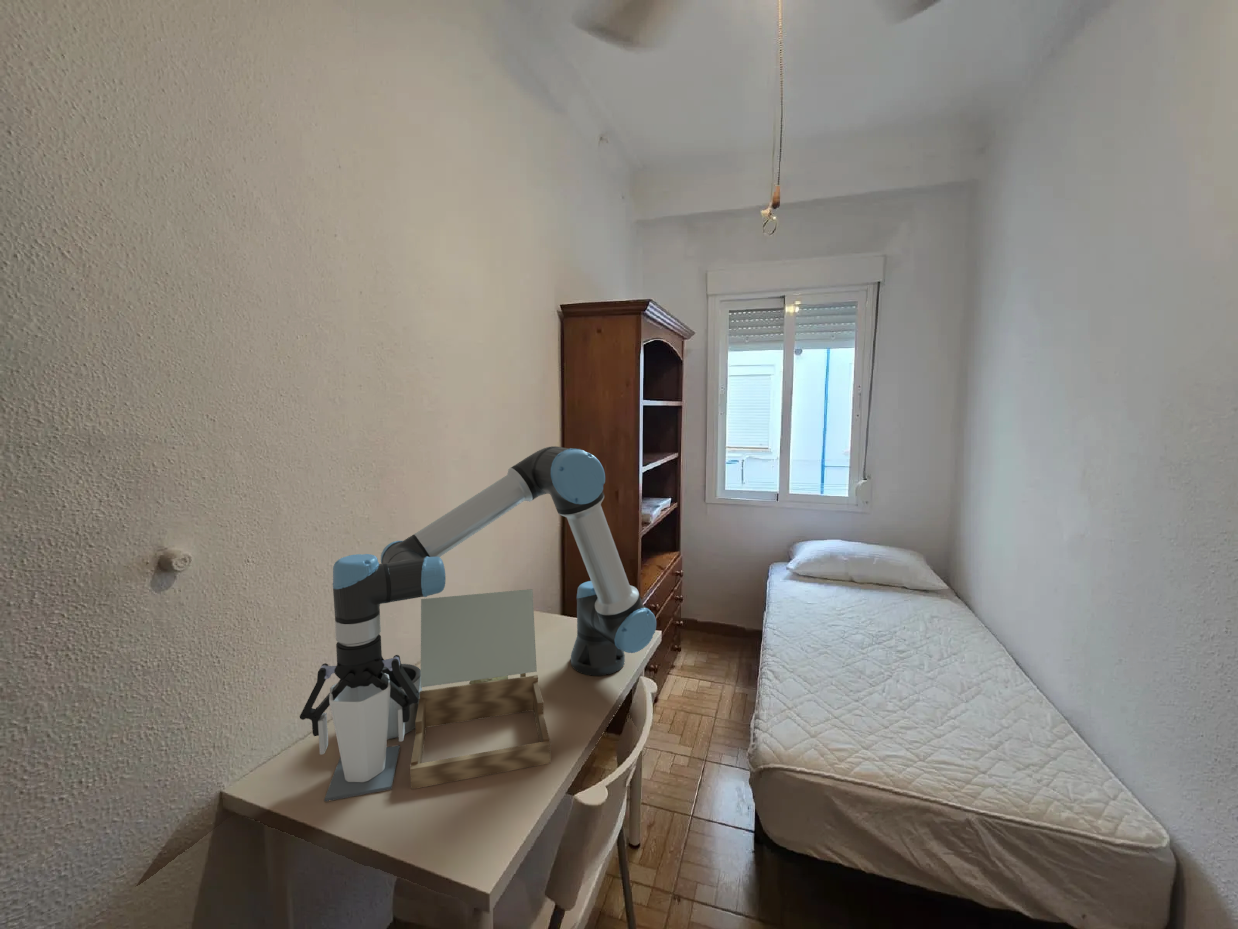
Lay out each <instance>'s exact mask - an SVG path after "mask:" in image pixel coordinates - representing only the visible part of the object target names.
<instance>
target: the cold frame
mask: <svg viewBox="0 0 1238 929" xmlns="http://www.w3.org/2000/svg"><path fill="white" fill-rule="evenodd" d="M519 675H520V676H519V677H511V678H508V679H504V680H497V681H490V682H483V683H475V684H469V683H468V684H461V685H455V686H448V687H440V688H434V689H426V690H425V689H424V690H422V691H420V693H419V698H420V699H419V704H418V710H417V715H416V721H415V736H414V742H413V747H412V748H413V749H412V754H411V755H412V756H411V758H410V769H409V770H410V789H411V790H414V789H415V790H416V789H419V788H420V789H421V788H425V787H432V786H436V785H441V784H447V783H451V782H452V783H453V782H457V781H458V782H459V781H463V780H468V779H474V778H478V777H485V776H490V775H495V774H500V773H505V772H511V771H515V770H522V769H526V768H531V767H537V766H542V765H547V764H551V741H550V736H549V731H548V726H547V723H546V718H545V714H544V700H543V696H542V692H541V688H540V684H539V675H538V674H534V675H528V676H527V673H523V674H519ZM526 712H533V716H534V721H535V725H536V731H537V734H538V738H539V742H535V743H528V744H524V745H523V744H522V745H517V746H511V747H506V748H500V749H495V750H493V749H492V750H488V751H483V752H477V753H472V754H465V755H461V756H460V755H459V756H456V757H449V758H444V759H438V760H433V761H432V760H431V761H426V762H423V754H424V747H425V740H426V732H427V728H431V727H438V726H444V725H451V724H457V723H461V722H463V723H464V722H468V721H475V720H481V719H486V718H487V719H488V718H494V717H501V716H506V715H507V716H508V715H512V714H519V713H526Z"/></svg>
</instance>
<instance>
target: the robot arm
mask: <svg viewBox="0 0 1238 929" xmlns="http://www.w3.org/2000/svg"><path fill="white" fill-rule="evenodd" d="M605 483H606V473H605V469H604V467H603V465H602V463H601V462H600V460H599V459H598V458H597V457H596V456H595V455H593V454H592V453H590V452H587V451H585V450H583V449H581V448H567V447H561V446H556V445H555V446H547V447H544V448H541V449H538V450H536V451H535V452H534V453H532V454H530V455H529V456H527V457H525V458H524V459H522V460H521V461H519V462H517V463H516V464H514V465H513V466H511V467H509V468H508V470H507V474H506V475H504V476H503V477H502V478H500V479H498V480H497V481H495V482H494V483H492V484H491V485H490V486H488V487H486V488H485V489H483V490H482V491H480V492H478V493H476V494H475V495H473V496H471V497H470V498H468V499H467V500H465V501H463V503H461V504H459V505H458V506H456V507H455V508H453V509H451V510H450V511H448V512H447V513H445V514H443V515H442V516H440V517H439V518H437V519H435V520H434V521H433V522H431V523H429V524H428V525H427V526H424V527H423V528H422V529H420V530H418V531H417V532H415V533H414V534H412V535H410V536H409V537H407V538H405V539H404V540H395V541H392V542H390V543H388V544H387V545H386V546H384V548H383V549H382V551H381V555H380V562H379V560H378V558H377V556H376V555H374V554H369V553H363V554H361V553H358V554H351V555H347V556H343V557H340V558H338V559H337V560H336V561H335V562H334V564H333V567H332V592H333V593H332V596H333V607H334V608H333V609H334V610H333V611H334V623H335V624H334V625H335V626H334V627H335V629H334V630H335V641H336V644H335V648H336V650H335V651H336V665H329V664H328V663H327V662H326V663H323V664H321V666H320V668H318V669H319V670H318V671H317V678H316V683H315V685H314V686H313V689H312V691H311V693H310V694H309V697H308V699H307V701H306V703H305V705H304V707H303V709H302V711H301V713H300V714H299V719H300V720H303V721H304V720H306V719H307V720H310V721H311V727H312V736H313V737H318V746H319V755H325V753H326V751H327V748H328V747H329V746H328V745H329V737H328V736H329V735H328V732H329V731H328V717H327V715H328V714H327V712H326V711H327V709H328V708H329V707H330V703H329V696H330V692H329V693H328V694H327V695H326V696H325V698H324V699H323V700H322V701H321V702H320V703H319V704H318V705H317V707H315V708H313V706H314V704H315V702H316V700H317V698H318V696H319V694H320V693H321V690H322V688H323V686H324V684H325V683H326V680H329V679H330V678H331V676H332V675H333V674H335V676H336V677H337V678H338V679H339V680H338V682H337V684H336V683H335V684H336V686H335V687H334V688H333V690H332V693H331V694H332V695H333V700H335V698H336V697H337V696H338V695H339V694H340V693H341V692H342V691H343V689H344V688H345V687H346V686H348V687H351V688H356V687H359V686H364V687H365V686H369V685H370V684H373V685H375V686H376V687H377V688H380V689H381V690H382V691H383V690H385V689H386V688H387V687H388V681H389V680H390V679H388V678H387V677H386V675H385V674H384V673H383V672H382V670H383V668H384V667H387V668H388V669H389V670H390V671H393V674H394V676H395V677H396V679H397V680H398V682H399V684H400V685H401V687H402V688H403V690H404V691H405V692H403V691H402V690H401V689H400V688H399V687H398V686H396V685H395V684H394V683H393V682H392V681H391V680H390V697H391V698H392V699H393V700H394V701H395V702H397V703H398V704H399V707H398V732H399V737H398V742H403V741H404V738H405V735H406V734H405V725H404V722H408V721H409V718H410V705H411V704H413V703H414V704H415V703H417V702H418V698H419V692H418V690H417V689H416V687H415V685H414V684H413V682H412V681H411V679H410V678H409V676H408V675H407V673H406V672H405V670H404V669H403V667H402V665H401V664H402V662H401V657H400V655H399V654H395V655H394V656H393V657H392V658H388V659H384V658H383V655H382V654H383V653H382V636H381V631H382V630H381V626H382V625H381V610H380V606H381V605H382V604H389V603H395V602H401V601H406V600H411V599H417V598H423V597H424V598H427V597H428V596H433V595H436V594H440V593H442V592H443V591H444V589H445V587H446V577H447V576H446V569H445V568H446V567H445V564H444V561H443V559H442V556H444V555H445V554H447V553H449V551H451V550H452V549H454V548H456V547H457V546H459V545H461V544H462V543H463V542H465V541H467V540H468V539H469V538H471V537H472V536H474V535H475V534H476V533H478V532H480V531H481V530H483V529H484V528H485V527H487V526H488V525H490V524H491V523H494V522H495V521H496V520H498V519H499V518H501V517H502V516H504V515H505V514H506V513H508V512H510V511H511V510H513V509H515V508H516V507H517V506H518V505H520V504H521V503H523V502H530V503H531V502H532V501H534V500H535V499H537V498H538V497H541V496H544V495H550V497H551V499H552V502H553V504H554V507H555V509H556V511H557V514H558V515H560V516H562V517H565V518H566V520H567V522H568V525H569V527H570V531H571V532H572V535H573V538H574V540H575V542H576V545H577V548H578V550H579V553H580V556H581V558H582V561H583V564H584V566H585V568H586V571H587V574H588V576H589V578H590V580H588V581H585V582H583V583H580V584H579V586H578V587H577V593H576V628H577V629H576V633H577V634H576V638H575V642H574V644H573V647H572V650H571V653H570V665H571V667H572V668H573V669H574V670H575V671H576V672H579V673H580V674H583V675H587V676H588V675H589V676H594V677H595V676H597V675H599V676H605V675H606V674H608V675H611V674H614V673H616V671H617V672H618V671H620V670H621V669H622V668H623V667H624V666H625V663H624V662H625V660H626V658H625V657H626V654H625V653H628V654H635V653H637V652H641V651H642V650H643V649H644V648H645V647H647V646H648V645H649V644H650V643H651V641H652V640H653V637H654V635H655V633H656V630H657V619H656V616H655V614H654V613H653V612H652V610H650V609H649V608H648V607H646V606H645V605H644V604H643V600H642V599H641V595H640V593H639V590H638V589H637V587H636V586H633V585H630V583H629V580H628V577H627V573H626V572H625V569H624V566H623V563H622V560H621V558H620V555H619V551H618V549H617V546H616V542H615V541H614V538H613V535H612V532H611V529H610V526H609V525H608V522H607V518H606V516H605V513H604V510H603V507H602V502H603V501H604V499H605V493H604V484H605ZM623 665H624V666H623ZM621 667H622V668H621ZM606 676H607V675H606Z"/></svg>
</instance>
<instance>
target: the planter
mask: <svg viewBox="0 0 1238 929" xmlns="http://www.w3.org/2000/svg"><path fill="white" fill-rule="evenodd" d="M401 665H402V667H403V669H404V670H405V672H406V673H407V675H408V676H409V678H410V679H411V681H412V682H413V684H414V685H415V687H416V689H417V690H418V692H419V693H420V691H423V687H421V668H420V667H418V666H417V665H414V664H411V663H410V664H409V663H401ZM382 672H383V673H386V674H388V675H389V679H390V680H391V681H392V682H393V683H394V684H395V685H396V686H398V687H399V688H400V689H401V690H402V691H403V692H405V691H404V690H403V688H402V687H401V685H400V684H399V682H398V680H397V679H396V677H395V676H394V674H393V671H390V670H389V669H388V668H387V667H384V668H383V670H382ZM419 699H420V698H418V702H417V703H415V704H414V703H413V704H411V705H410V718H409V721H408V722H404V725H405V734H404V735H406V734H408V733H409V732H411V731H413V730H414V729H416V727H415V721H416V715H417V710H418V704H419ZM398 707H399V704H398V703H397V702H395V701H394V700H393V699H392V698H391V697H390V701H389V716H388V730H387V740H392V739H395V738H399V732H398Z"/></svg>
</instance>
